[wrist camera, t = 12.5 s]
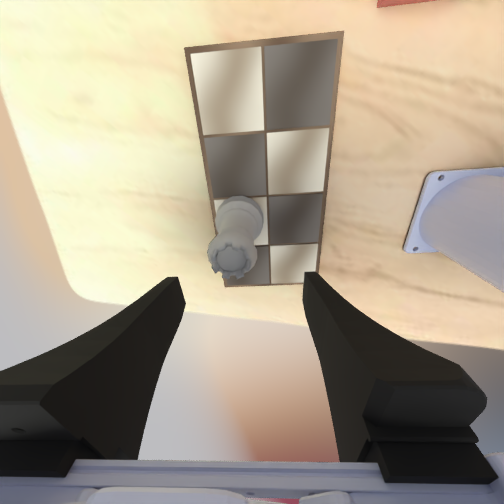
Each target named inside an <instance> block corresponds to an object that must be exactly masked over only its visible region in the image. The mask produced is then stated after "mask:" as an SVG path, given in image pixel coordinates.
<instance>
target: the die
mask: <svg viewBox="0 0 504 504" xmlns="http://www.w3.org/2000/svg"><path fill="white" fill-rule="evenodd" d="M427 1H435V0H378V3H377V8H379V7H387V6H395V5H403V4H411V3H419V2H427Z"/></svg>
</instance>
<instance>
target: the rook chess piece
mask: <svg viewBox="0 0 504 504" xmlns="http://www.w3.org/2000/svg"><path fill="white" fill-rule="evenodd" d="M263 223H264V218H263V212H262V210H261V208H260V206H259V205H258V204H257V203H256V202H255V201H254V200H252V199H251V198H248V197H245V196H232V197H230V198H228V199H226V200H224V201H223V202H222V204H221V205H220V206H219V207H218V210H217V214H216V218H215V224H216V229H217V232H218V235H217V236H216V237H215V238H214V239H213V240H212V241H211V242H210V244H209V247H208V251H207V254H208V258H209V261H210V263H211V264H212V269H213V270H214V272H215V273H217V272H218V271H219V272H221V273H223V275H222V278H225V279H229V278H230V275H236V278H237V279H239V278H241V277H244V273H246V272H249V270H250V269H251V268H252V267H254V265H255V263H256V260H257V249H256V247H255V245H254V240H255V239H256V238H257V237H258V236H259V235H260V233H261V231H262V228H263Z"/></svg>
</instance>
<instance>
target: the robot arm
mask: <svg viewBox="0 0 504 504" xmlns="http://www.w3.org/2000/svg"><path fill="white" fill-rule="evenodd" d="M440 175H441V178H440V179H439V180H438V177H439V176H440ZM414 247H415V249H413V248H414ZM403 250H404V251H405V252H406V253H424V252H441V253H442V254H444V255H445V256H447V257H449V258H450V259H452V260H453V261H455V262H456V263H458V264H460V265H461V266H463V267H464V268H466V269H467V270H469V271H471V272H472V273H474V274H475V275H477V276H479V277H480V278H482V279H483V280H485V281H486V282H488V283H490V284H491V285H493V286H494V287H496V288H497V289H499V290H501V291H502V292H504V167H493V168H478V169H463V170H448V171H434V172H431V173H429V175H428V176H427V178H426V180H425V183H424V187H423V190H422V193H421V196H420V199H419V202H418V205H417V208H416V211H415V214H414V217H413V220H412V223H411V226H410V229H409V232H408V236H407V239H406V242H405V245H404V248H403ZM185 305H186V303H185V299H184V296H183V292H182V289H181V286H180V282H179V279H178V277H167V278H165V279H164V280H163V281H161V282H160V283H159V284H157V285H156V286H155V287H153V288H152V289H151V290H149V291H148V292H147V293H146V294H144V295H143V296H142V297H140V298H139V299H138V300H136V301H135V302H134V303H132V304H131V305H129V306H128V307H126V308H125V309H124V310H122V311H121V312H119V313H118V314H116V315H115V316H113V317H112V318H110V319H109V320H107V321H105V322H104V323H102V324H101V325H99V326H97V327H95V328H93V329H92V330H90V331H88V332H86V333H84V334H82V335H80V336H78V337H77V338H75V339H73V340H71V341H69V342H67V343H65V344H63V345H61V346H59V347H57V348H54V349H52V350H50V351H48V352H46V353H43V354H41V355H39V356H37V357H34V358H32V359H29V360H27V361H24V362H22V363H20V364H17V365H15V366H12V367H10V368H7V369H5V370H2V371H0V504H285V503H277V502H269V501H260V500H252V499H246V498H245V497H248V498H249V497H250V498H251V497H252V498H298V499H300V500H299V504H504V453H492V454H487V455H485V456H484V455H483V454H482V453H481V451H480V450H479V448H478V447H477V446H476V444H475V443H477V442H478V441H479V440H478V437H477V436H476V434H475V433H474V432H473V430H472V429H471V427H470V426H469V425H470V424H471V423H472V422H473V421H474V420H475V419H476V418H477V417H478V416H479V415H480V414H481V413H482V412H483V410H484V409H485V407H486V404H487V397H486V395H485V394H484V392H483V391H482V390H481V389H480V388H479V387H478V385H477V384H476V383H475V382H474V381H473V380H472V379H471V377H470V376H469V375H468V374H467V373H466V372H465V371H464V370H463V369H462V368H461V366H460V365H458V364H456V363H454V362H452V361H449V360H447V359H445V358H443V357H441V356H438V355H436V354H434V353H432V352H430V351H427V350H425V349H423V348H421V347H419V346H417V345H415V344H413V343H412V342H410V341H408V340H406V339H404V338H402V337H400V336H399V335H397V334H395V333H393V332H392V331H390V330H388V329H387V328H385V327H383V326H382V325H380V324H378V323H377V322H375V321H374V320H372V319H371V318H369V317H368V316H366V315H365V314H364V313H362V312H361V311H359V310H358V309H357V308H355V307H354V306H353V305H352V304H350V303H349V302H348V301H347V300H345V299H344V298H343V297H342V296H341V295H340V294H339V293H337V292H336V291H335V290H334V289H333V288H332V287H331V286H330V285H329V284H328V283H327V282H326V281H325V280H324V279H323V278H322V277H321V276H320V275H319V274H318V273H317V272H316V271H311V272H304V285H303V305H304V311H305V316H306V319H307V322H308V325H309V328H310V331H311V334H312V337H313V341H314V344H315V347H316V350H317V353H318V356H319V360H320V364H321V368H322V373H323V377H324V382H325V386H326V391H327V396H328V401H329V406H330V411H331V416H332V421H333V426H334V431H335V437H336V443H337V448H338V454H339V460H340V462H263V461H262V462H261V461H176V460H174V461H173V460H138V455H139V450H140V446H141V441H142V437H143V433H144V429H145V425H146V421H147V417H148V413H149V409H150V405H151V402H152V398H153V395H154V391H155V388H156V384H157V381H158V378H159V374H160V372H161V368H162V365H163V363H164V360H165V357H166V355H167V352H168V350H169V348H170V345H171V343H172V341H173V339H174V336H175V334H176V332H177V329H178V327H179V324H180V322H181V319H182V316H183V312H184V309H185Z"/></svg>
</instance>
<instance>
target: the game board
mask: <svg viewBox="0 0 504 504" xmlns="http://www.w3.org/2000/svg"><path fill="white" fill-rule="evenodd" d="M343 36H344V31H337V32H327V33H318V34H308V35H299V36H289V37H280V38H270V39H261V40H252V41H242V42H233V43H223V44H214V45H204V46H195V47H185V48H184V50H185V56H186V62H187V68H188V74H189V80H190V85H191V91H192V97H193V103H194V109H195V115H196V121H197V127H198V132H199V138H200V144H201V150H202V156H203V162H204V168H205V174H206V180H207V185H208V191H209V197H210V203H211V209H212V215H213V221H214V227H215V233H216V236H217V235H218V232H217V229H216V224H215V218H216V214H217V210H218V207H219V206H220V205H221V204H222V202H223V201H224V200H226V199H228V198H230V197H232V196H245V197H248V198H251V199H252V200H254V201H255V202H256V203H257V204H258V205H259V206H260V208H261V210H262V212H263V218H264V223H263V228H262V231H261V233H260V235H259V236H258V237H257V238H256V239H255V240H254V245H255V247H256V249H257V260H256V263H255V265H254V267H252V268H251V269H250V270H249V272H246V273H244V277H241V278H239V279H237V278H236V275H230V278H229V279H225V278H223V280H224V286H225V287H244V286H269V285H293V284H304V272H311V271H316V272H317V273H318V272H319V263H320V253H321V244H322V234H323V225H324V215H325V206H326V196H327V187H328V178H329V168H330V159H331V149H332V140H333V130H334V121H335V111H336V102H337V92H338V83H339V74H340V64H341V55H342V45H343ZM222 274H223V273H222Z"/></svg>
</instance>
